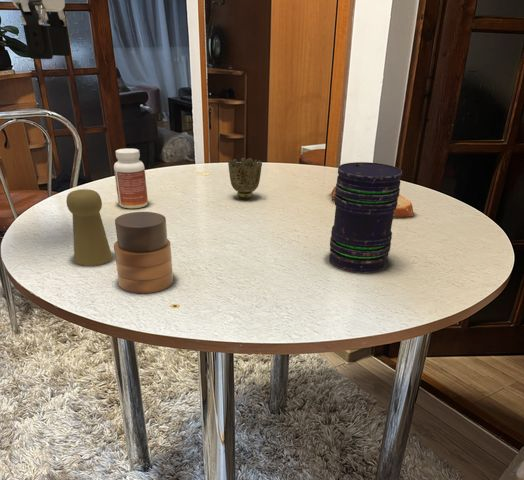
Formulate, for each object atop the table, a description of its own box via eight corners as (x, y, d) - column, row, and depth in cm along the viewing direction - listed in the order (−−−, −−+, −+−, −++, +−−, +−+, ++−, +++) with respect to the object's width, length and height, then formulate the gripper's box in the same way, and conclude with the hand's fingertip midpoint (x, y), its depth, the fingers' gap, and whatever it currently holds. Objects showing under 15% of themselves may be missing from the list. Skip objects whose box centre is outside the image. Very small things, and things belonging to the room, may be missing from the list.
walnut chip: (113, 252, 71) (110, 227, 69) (122, 235, 76) (119, 211, 74) (164, 252, 71) (162, 227, 69) (169, 235, 77) (168, 211, 75)
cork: (113, 251, 87) (104, 185, 81) (111, 265, 82) (101, 195, 76) (76, 252, 86) (64, 186, 80) (71, 266, 81) (58, 197, 75)
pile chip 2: (112, 280, 72) (110, 267, 71) (122, 259, 79) (120, 246, 78) (169, 280, 73) (168, 267, 72) (174, 259, 79) (173, 246, 78)
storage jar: (400, 266, 84) (417, 173, 76) (354, 277, 80) (367, 180, 72) (360, 246, 91) (371, 159, 83) (316, 256, 87) (324, 165, 79)
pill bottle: (154, 205, 109) (149, 151, 103) (129, 211, 106) (122, 154, 100) (138, 199, 113) (132, 146, 107) (113, 204, 109) (106, 149, 103)
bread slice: (415, 219, 105) (418, 201, 103) (327, 213, 108) (329, 195, 106) (408, 196, 120) (411, 180, 118) (332, 190, 123) (333, 174, 121)
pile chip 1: (110, 267, 71) (108, 253, 70) (120, 246, 78) (119, 234, 77) (168, 267, 72) (167, 254, 71) (173, 246, 78) (172, 234, 77)
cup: (235, 204, 112) (235, 166, 107) (223, 195, 117) (223, 158, 113) (266, 200, 114) (267, 163, 110) (253, 192, 120) (254, 156, 116)
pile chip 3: (114, 293, 73) (112, 280, 72) (124, 270, 80) (122, 259, 79) (170, 293, 74) (169, 280, 73) (175, 271, 80) (174, 259, 79)
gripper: (20, -81, 75) (43, 53, 84) (-31, -107, 60) (4, 59, 69) (72, -79, 75) (90, 55, 84) (34, -104, 61) (60, 61, 70)
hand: (51, 57), depth 77 cm, fingers open, 9 cm apart
